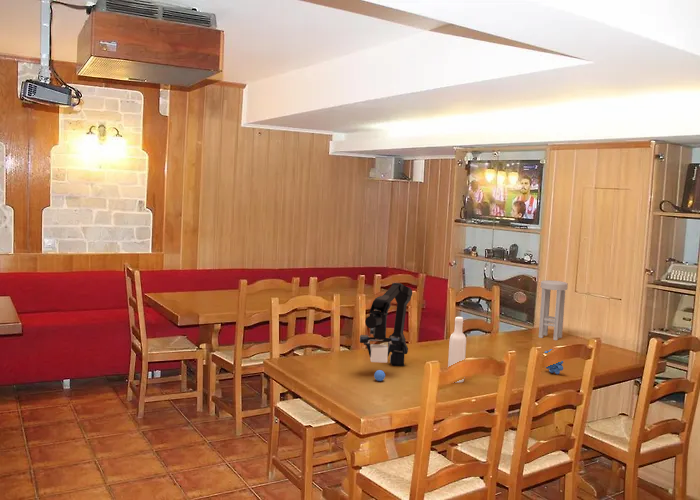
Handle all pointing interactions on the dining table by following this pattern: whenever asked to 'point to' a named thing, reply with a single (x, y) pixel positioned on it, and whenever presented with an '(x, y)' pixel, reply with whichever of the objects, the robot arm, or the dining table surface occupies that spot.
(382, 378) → the ball
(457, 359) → the bottle
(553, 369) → the grapes
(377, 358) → the pale pink cube
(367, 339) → the robot arm
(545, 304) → the stool
